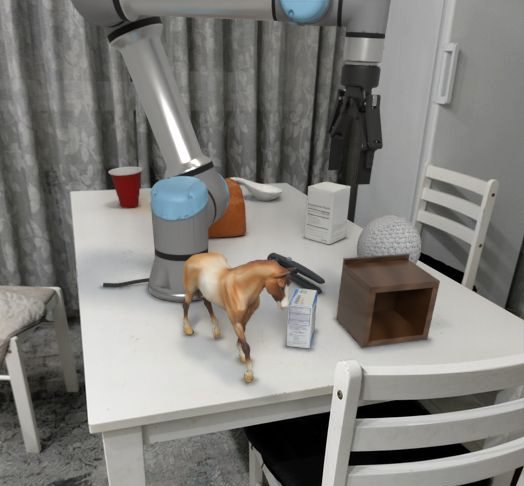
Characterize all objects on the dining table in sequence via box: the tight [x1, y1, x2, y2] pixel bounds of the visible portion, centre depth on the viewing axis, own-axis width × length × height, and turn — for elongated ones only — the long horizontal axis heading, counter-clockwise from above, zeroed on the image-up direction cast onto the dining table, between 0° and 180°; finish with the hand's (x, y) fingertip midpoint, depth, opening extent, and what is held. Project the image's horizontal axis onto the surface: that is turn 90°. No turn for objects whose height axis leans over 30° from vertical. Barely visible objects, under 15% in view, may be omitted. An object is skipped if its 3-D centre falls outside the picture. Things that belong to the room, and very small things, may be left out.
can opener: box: [266, 252, 326, 295], centre depth 122 cm, size 18×7×6 cm, turn 40°
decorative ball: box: [356, 214, 422, 265], centre depth 125 cm, size 15×15×15 cm
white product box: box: [304, 181, 352, 245], centre depth 150 cm, size 9×9×15 cm
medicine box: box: [286, 288, 318, 349], centre depth 98 cm, size 8×4×9 cm, turn 168°
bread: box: [208, 177, 247, 239], centre depth 152 cm, size 17×24×15 cm
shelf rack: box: [335, 254, 441, 348], centre depth 101 cm, size 14×12×13 cm
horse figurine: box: [181, 252, 296, 383], centre depth 90 cm, size 31×8×21 cm, turn 35°
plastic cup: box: [108, 166, 143, 209], centre depth 173 cm, size 11×11×12 cm
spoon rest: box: [230, 176, 284, 202], centre depth 188 cm, size 24×12×7 cm, turn 94°
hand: (347, 176), depth 112 cm, fingers open, 13 cm apart
